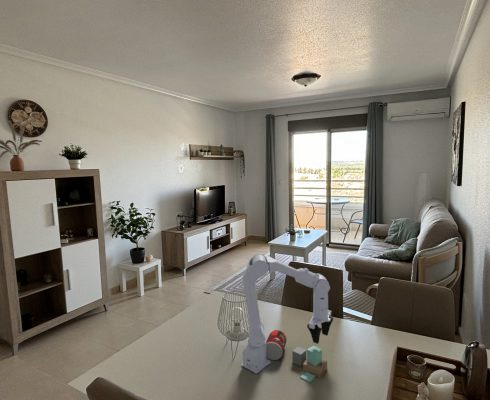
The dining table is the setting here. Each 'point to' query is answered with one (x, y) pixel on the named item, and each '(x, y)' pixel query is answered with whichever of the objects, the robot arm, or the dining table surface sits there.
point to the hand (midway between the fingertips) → (320, 338)
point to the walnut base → (315, 368)
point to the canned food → (275, 345)
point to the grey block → (299, 356)
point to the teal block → (314, 355)
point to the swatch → (308, 376)
